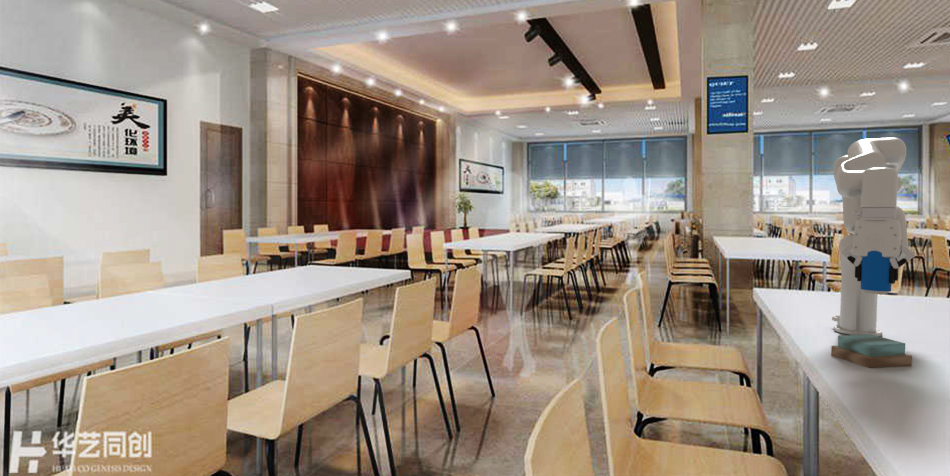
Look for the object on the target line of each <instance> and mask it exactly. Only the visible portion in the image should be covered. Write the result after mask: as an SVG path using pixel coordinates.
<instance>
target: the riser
mask: <svg viewBox="0 0 950 476" xmlns="http://www.w3.org/2000/svg"><path fill="white" fill-rule="evenodd" d="M830 350H831V353H830V355H831V356H833V357H836V358H839V359H842V360H846V361H847V362H852V363H854V364H857V365H860V366H864V367H867V368H869V369H876V368H890V367H891V368H893V367H907V366H908V367H909V366H912V365H913V355H910V354H907V353H906V343H905V342H902V341H897V340H893V339H890V338H887V337H882V336H875V335H872V334H864V335H848V334H844V335H838V336H837V345H831V349H830Z"/></svg>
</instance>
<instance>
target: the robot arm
mask: <svg viewBox="0 0 950 476" xmlns="http://www.w3.org/2000/svg"><path fill="white" fill-rule="evenodd" d="M906 157H907V146H906V144H905V142H904V141H903V139H901V138H899V137H880V138H864V139H859V140H857V141H856V140H855V141H854V142H853V143H852V144H850V145H849V147H848V149H847V154H845V155H843V156H840V157H838V158H836V159H835V161H834V163H833V177H834V181H835V185H836V189H837V192H838V194H839V195H840V196H841V199H842V216H843V217H842V219H843V220H842V221H843V226H844V229H845V231H846V232H847V233H849V234H847V235H845V236H843V237H842V238H840V241H839V244H838V249H839V250H838V252H839V257H840V258H839V259H840V267H841V268H840V270H841V272H840V273H841V275H840V276H841V279H840V307H839V308H840V309H839V310H840V311H839V314H835V316H832V318H831V320H832V321H834V322H837V323H836V325H834V326H833V330H834V332H837V333H840V334H844V335H864V334H872V335H875V336H879V337H882V336H883V331H882V330H881V329H879V328H877V321H878V320H877V319H878V318H877V317H878V297H879V296H878V295H879V294H873V293H865V292H864V291H863V290H861V261H862V257H866V256H867V253H868V252H870V251H879V252H881V253H882V257H884V258H889V259H890V262H891V264H892V268H891V269H890V283H891V285H893V284H895V283H896V282H898V281H899V269H900V268H901V267H902V266H903V265H905V264H906V263H908V262H909V261H910V260H911V259H913V258H915V256H916V253H914V252H913V251H912V250H910V247H909V238H908V237H909V236H908V228H907V220H906V214H905V212H904V210H903V209H902V208H901V207H900V206H899V205H898V206H897V200H898V199H897V196H898V191H900V189H901V185H902V182H901V176H900V175H899V173H900V170H901V169H902V166H903V165H904V163H905V160H906ZM873 248H874V249H873ZM876 248H877V249H876Z"/></svg>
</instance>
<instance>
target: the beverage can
mask: <svg viewBox="0 0 950 476" xmlns="http://www.w3.org/2000/svg"><path fill="white" fill-rule="evenodd" d="M873 249H874V248H873ZM876 249H877V248H876ZM891 268H892V264H891V262H890V259H889V258H884V257H882V253H881V252H879V251H870V252H868V253H867V256H866V257H862V261H861V290H863V291H864V292H865V293H873V294H878V295H888V294H889V293H890V292H892V284H891V283H890V269H891Z"/></svg>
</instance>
